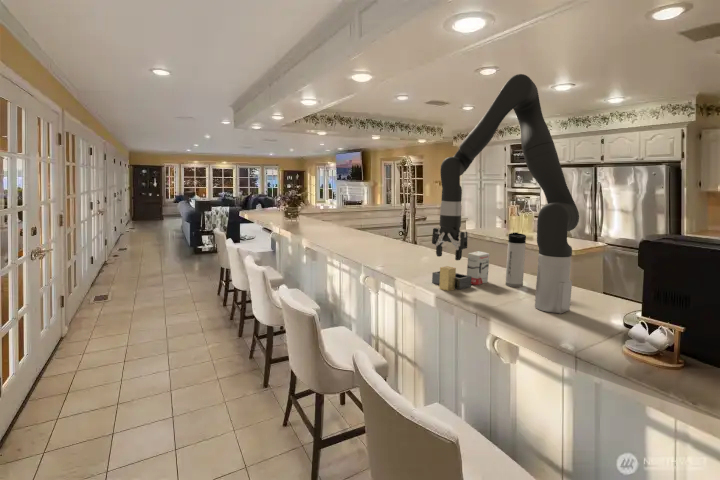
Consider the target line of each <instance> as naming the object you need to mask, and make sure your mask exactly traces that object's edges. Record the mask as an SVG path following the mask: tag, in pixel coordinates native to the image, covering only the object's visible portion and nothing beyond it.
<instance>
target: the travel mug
mask: <svg viewBox="0 0 720 480" xmlns="http://www.w3.org/2000/svg"><path fill="white" fill-rule="evenodd" d="M526 244H527V235H526V234H523V233H519V232H511V233H509V234H508V241H507V253H506V254H507V255H506V268H505V269H506V271H505V285H506V286H508V287H511V288H521V287H523V286H524V274H525V257H526Z"/></svg>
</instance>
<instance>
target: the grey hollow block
mask: <svg viewBox="0 0 720 480" xmlns="http://www.w3.org/2000/svg"><path fill="white" fill-rule="evenodd" d="M471 277H472V276H467V274H463V273H459V272H458V273H457V272H456V277H455V289H454V290H458V291H459V290H460V291H461V290H464V289H468V288H471V287H472V284H471ZM431 278H432V279H431V284H437V285H439V284H440V270H439V271H435V272H432V277H431Z"/></svg>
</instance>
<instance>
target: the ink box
mask: <svg viewBox="0 0 720 480" xmlns="http://www.w3.org/2000/svg"><path fill="white" fill-rule="evenodd" d="M490 255H491V253H489V252H485V251H480V250H478V251H473V252H469V253H468V254H467V267H466V275H467V276H472V277H471V285H473V286H480V285H482V284H486V283H488V280H489V267H490V266H489V265H490Z"/></svg>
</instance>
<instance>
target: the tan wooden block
mask: <svg viewBox="0 0 720 480" xmlns="http://www.w3.org/2000/svg"><path fill="white" fill-rule="evenodd" d="M439 271H440V284H438V285H439V290H444V291H447V292H450V291H455V290H456V289H455V277H456V273H457V268H456V267H453V266H448V265H446V266H442V267H439Z"/></svg>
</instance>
